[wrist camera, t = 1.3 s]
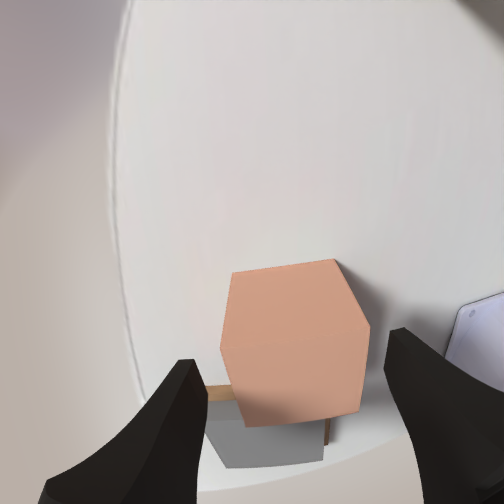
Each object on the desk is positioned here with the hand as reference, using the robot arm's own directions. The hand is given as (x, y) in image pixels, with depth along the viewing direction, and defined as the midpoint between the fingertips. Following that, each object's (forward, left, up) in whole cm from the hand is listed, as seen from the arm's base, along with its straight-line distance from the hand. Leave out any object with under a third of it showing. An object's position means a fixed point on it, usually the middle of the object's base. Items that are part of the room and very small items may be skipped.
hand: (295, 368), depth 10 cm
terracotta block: (0, 0, -4) cm, 4 cm away
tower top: (+2, +9, -3) cm, 10 cm away
